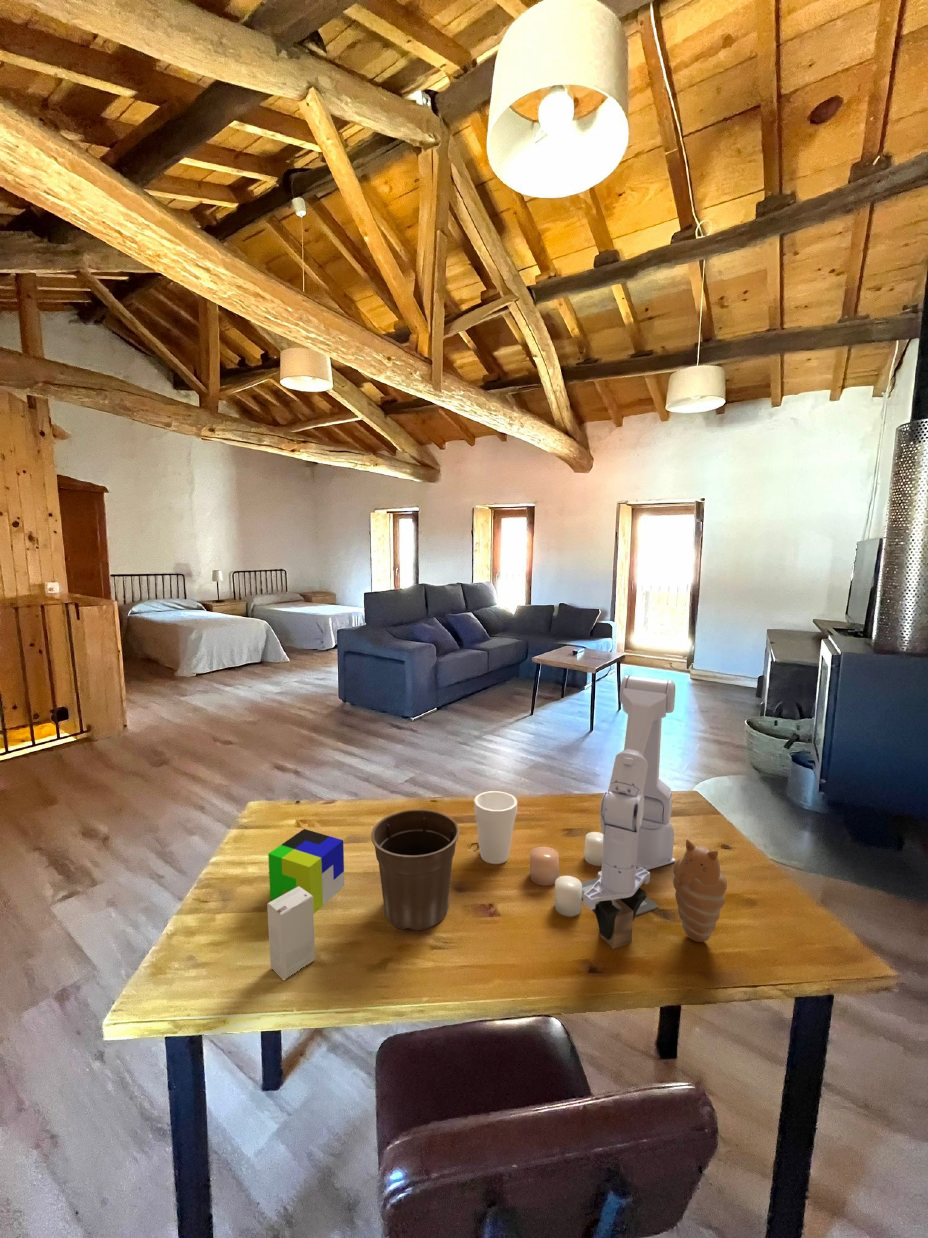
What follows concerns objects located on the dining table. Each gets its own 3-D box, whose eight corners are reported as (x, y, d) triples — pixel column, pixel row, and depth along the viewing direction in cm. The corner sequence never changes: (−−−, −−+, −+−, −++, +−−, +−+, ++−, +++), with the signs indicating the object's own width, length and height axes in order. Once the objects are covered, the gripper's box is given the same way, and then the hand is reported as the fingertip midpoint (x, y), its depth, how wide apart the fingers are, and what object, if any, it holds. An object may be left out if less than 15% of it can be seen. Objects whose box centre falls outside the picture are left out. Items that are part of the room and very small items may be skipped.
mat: (617, 873, 115) (617, 871, 114) (658, 908, 104) (658, 906, 104) (570, 887, 110) (570, 885, 110) (608, 925, 99) (608, 923, 99)
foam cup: (513, 871, 115) (514, 813, 113) (470, 865, 117) (471, 808, 115) (517, 846, 124) (519, 793, 122) (478, 841, 126) (478, 789, 124)
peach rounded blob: (546, 865, 117) (546, 843, 116) (564, 879, 112) (564, 857, 111) (524, 874, 114) (523, 852, 113) (541, 889, 109) (541, 866, 108)
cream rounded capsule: (570, 896, 107) (570, 873, 106) (586, 911, 102) (587, 887, 102) (549, 904, 105) (550, 880, 104) (565, 920, 100) (566, 895, 100)
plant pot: (412, 955, 91) (411, 867, 89) (355, 911, 102) (353, 831, 100) (475, 908, 103) (477, 829, 101) (418, 873, 114) (418, 801, 112)
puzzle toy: (344, 886, 109) (343, 840, 108) (311, 916, 101) (309, 867, 99) (305, 873, 114) (304, 828, 112) (270, 901, 105) (268, 853, 103)
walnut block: (616, 927, 98) (618, 897, 97) (631, 942, 95) (633, 911, 94) (598, 934, 97) (600, 903, 96) (613, 949, 93) (615, 917, 92)
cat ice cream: (662, 938, 96) (668, 843, 93) (680, 916, 101) (686, 827, 99) (713, 965, 90) (722, 865, 87) (730, 941, 95) (738, 846, 93)
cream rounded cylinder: (600, 850, 123) (601, 830, 122) (611, 864, 118) (613, 843, 117) (580, 854, 121) (581, 833, 120) (591, 867, 116) (592, 846, 116)
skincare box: (301, 948, 93) (299, 883, 91) (316, 961, 90) (314, 894, 88) (268, 969, 88) (265, 901, 86) (283, 984, 85) (280, 914, 83)
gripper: (629, 837, 101) (626, 903, 103) (571, 860, 93) (569, 932, 95) (661, 855, 95) (656, 926, 97) (602, 882, 87) (598, 958, 89)
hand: (615, 930), depth 96 cm, fingers closed on walnut block, 4 cm apart
